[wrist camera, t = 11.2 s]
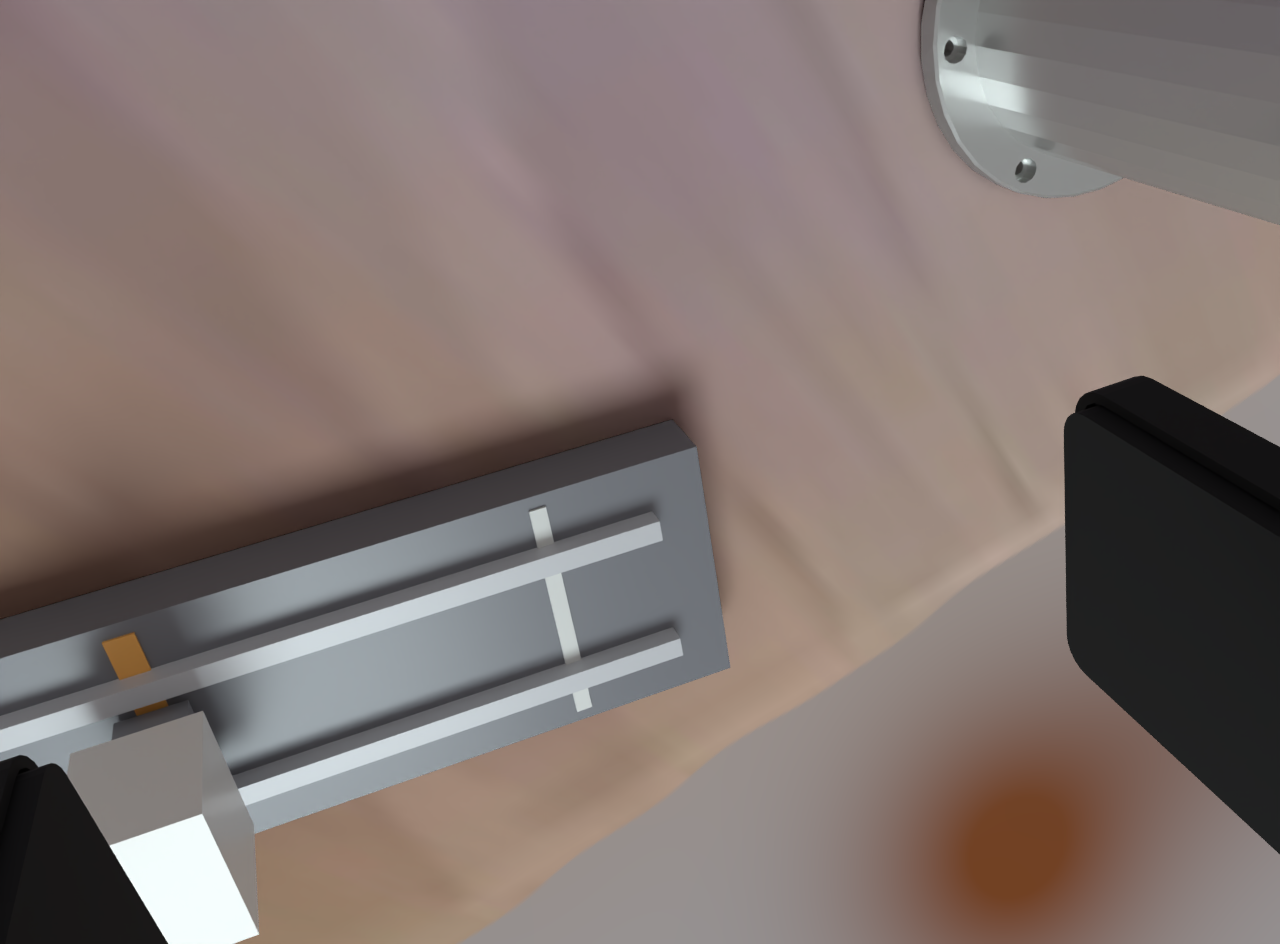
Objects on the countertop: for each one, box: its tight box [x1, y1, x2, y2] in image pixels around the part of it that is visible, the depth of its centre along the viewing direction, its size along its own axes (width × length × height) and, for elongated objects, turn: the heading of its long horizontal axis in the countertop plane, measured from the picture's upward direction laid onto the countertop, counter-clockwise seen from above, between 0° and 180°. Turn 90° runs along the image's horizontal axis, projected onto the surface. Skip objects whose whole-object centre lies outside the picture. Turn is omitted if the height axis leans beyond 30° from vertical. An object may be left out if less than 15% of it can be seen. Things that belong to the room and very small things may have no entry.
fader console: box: [0, 420, 730, 834], centre depth 41 cm, size 28×10×3 cm, turn 100°
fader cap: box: [67, 700, 259, 944], centre depth 36 cm, size 4×5×7 cm
